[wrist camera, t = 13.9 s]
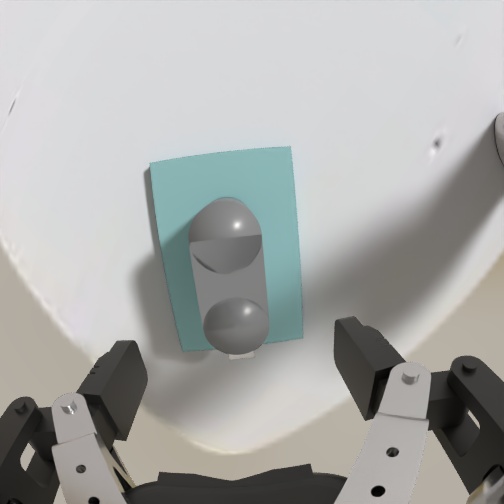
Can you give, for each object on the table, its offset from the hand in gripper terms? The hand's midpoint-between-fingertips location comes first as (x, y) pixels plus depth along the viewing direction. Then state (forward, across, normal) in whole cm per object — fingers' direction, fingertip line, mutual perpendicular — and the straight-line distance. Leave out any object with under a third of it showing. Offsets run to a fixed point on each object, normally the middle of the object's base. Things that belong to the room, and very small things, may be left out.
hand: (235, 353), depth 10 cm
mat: (+15, 0, 0) cm, 15 cm away
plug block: (+14, 0, 0) cm, 14 cm away
